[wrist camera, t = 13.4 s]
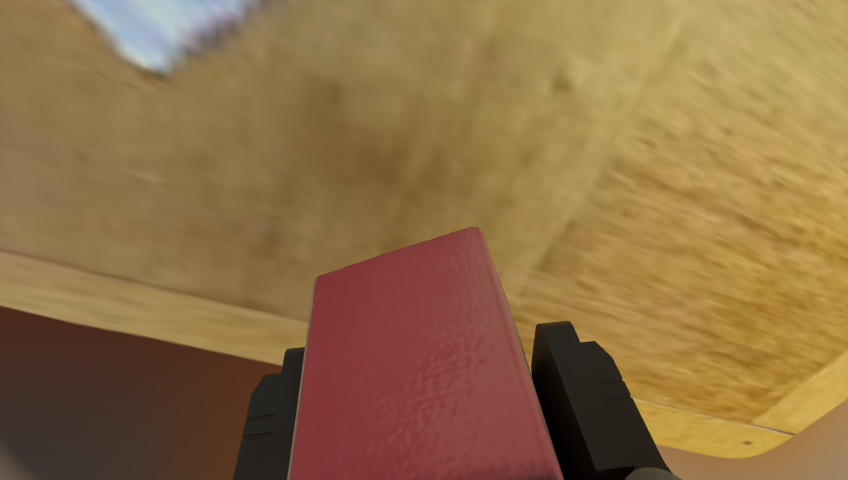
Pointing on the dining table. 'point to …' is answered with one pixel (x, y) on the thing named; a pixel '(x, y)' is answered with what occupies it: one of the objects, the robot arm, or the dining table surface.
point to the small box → (418, 373)
